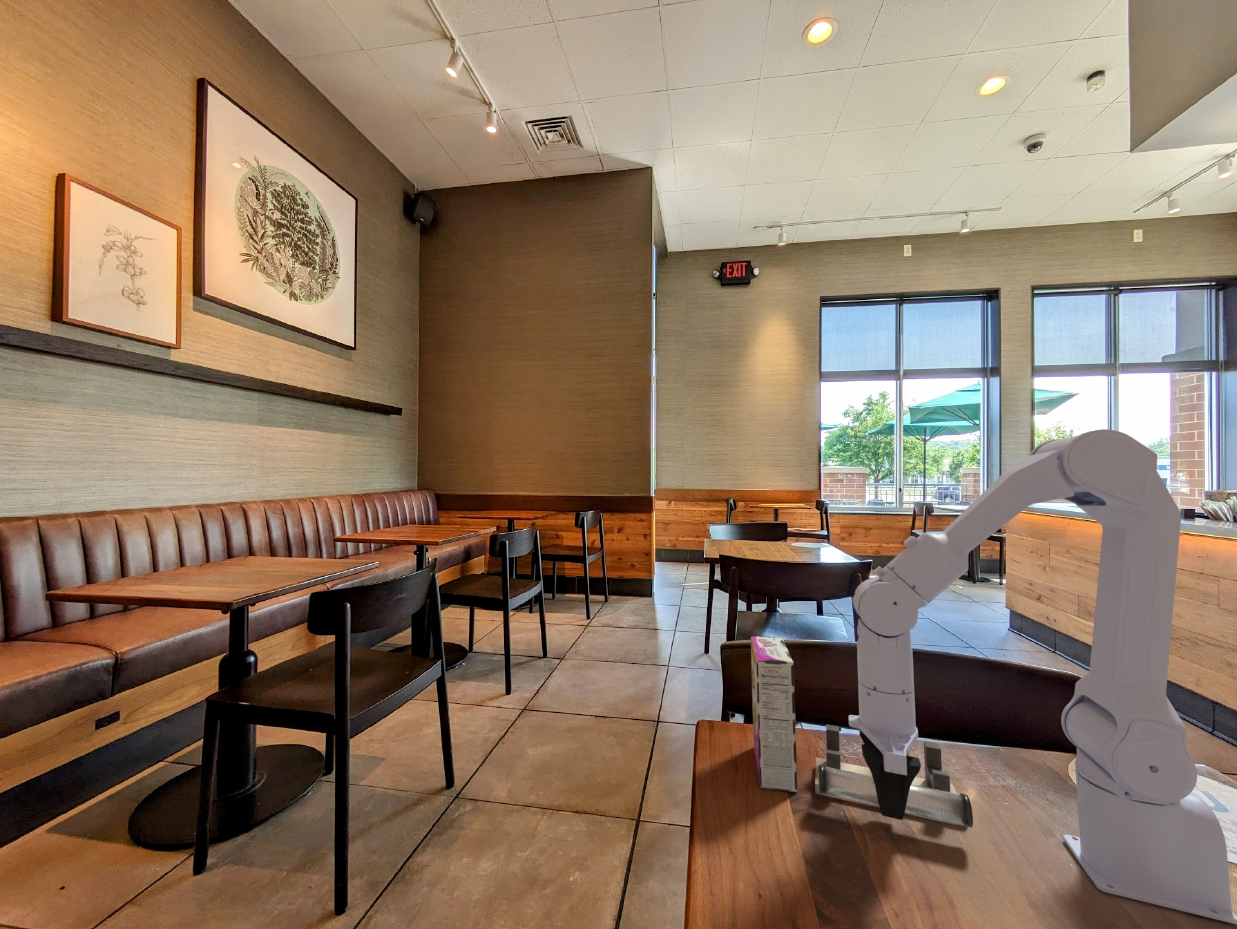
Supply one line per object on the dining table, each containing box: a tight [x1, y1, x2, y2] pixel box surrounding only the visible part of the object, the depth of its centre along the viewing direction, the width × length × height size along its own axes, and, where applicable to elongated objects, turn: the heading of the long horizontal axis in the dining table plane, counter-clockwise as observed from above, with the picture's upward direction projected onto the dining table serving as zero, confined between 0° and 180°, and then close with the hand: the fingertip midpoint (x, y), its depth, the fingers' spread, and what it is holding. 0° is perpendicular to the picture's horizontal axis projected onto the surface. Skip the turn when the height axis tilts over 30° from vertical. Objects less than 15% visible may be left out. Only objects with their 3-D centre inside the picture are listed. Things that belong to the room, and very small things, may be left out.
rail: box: [819, 764, 974, 829], centre depth 55 cm, size 15×3×3 cm, turn 67°
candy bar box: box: [750, 635, 799, 793], centre depth 67 cm, size 11×5×16 cm, turn 168°
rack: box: [814, 724, 969, 829], centre depth 61 cm, size 16×7×6 cm, turn 67°
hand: (889, 807), depth 55 cm, fingers closed on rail, 3 cm apart
